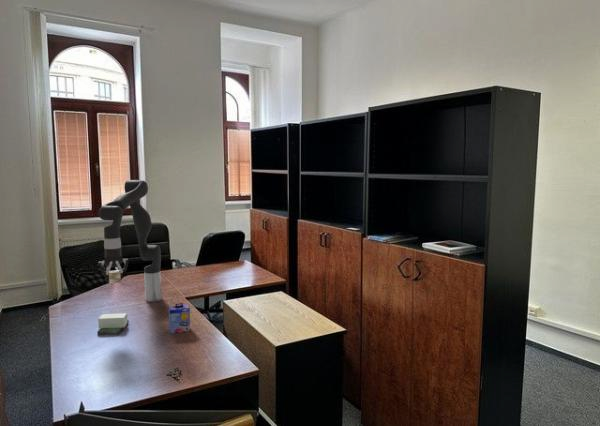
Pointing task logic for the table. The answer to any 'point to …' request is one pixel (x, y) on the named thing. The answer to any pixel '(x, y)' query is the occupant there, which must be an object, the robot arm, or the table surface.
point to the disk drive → (111, 331)
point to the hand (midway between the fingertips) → (114, 280)
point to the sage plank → (112, 320)
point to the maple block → (114, 276)
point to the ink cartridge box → (179, 318)
